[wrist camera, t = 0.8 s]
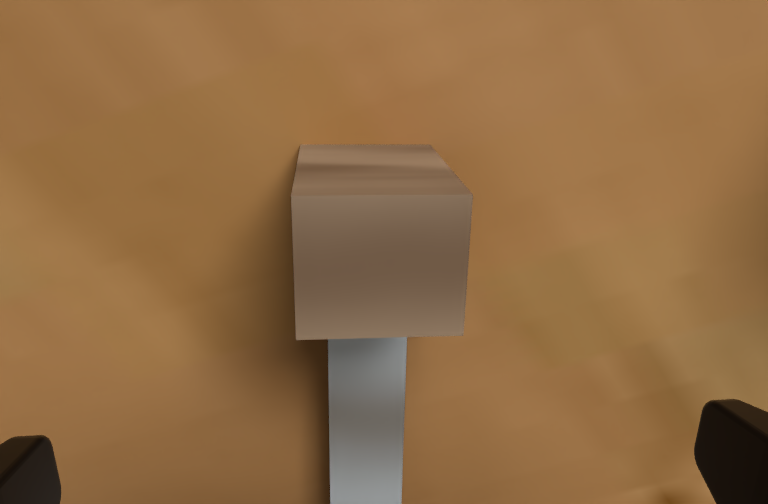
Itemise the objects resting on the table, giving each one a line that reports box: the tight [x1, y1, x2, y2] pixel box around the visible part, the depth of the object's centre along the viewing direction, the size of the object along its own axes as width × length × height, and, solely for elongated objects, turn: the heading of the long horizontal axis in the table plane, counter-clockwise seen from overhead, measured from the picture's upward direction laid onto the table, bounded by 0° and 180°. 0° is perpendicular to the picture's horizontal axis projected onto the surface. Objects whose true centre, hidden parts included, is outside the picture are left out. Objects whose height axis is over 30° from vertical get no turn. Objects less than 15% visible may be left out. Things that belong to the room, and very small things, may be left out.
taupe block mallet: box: [291, 145, 473, 504], centre depth 19 cm, size 16×4×6 cm, turn 179°
